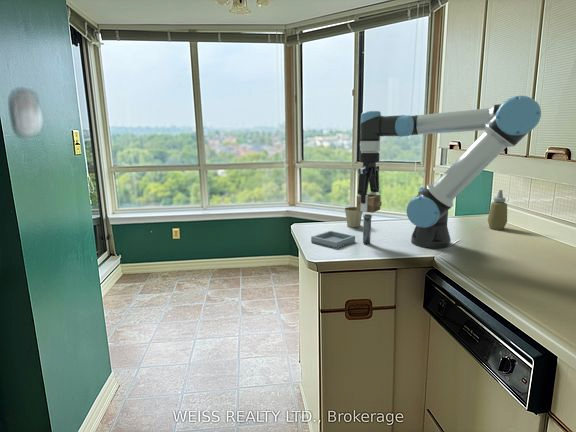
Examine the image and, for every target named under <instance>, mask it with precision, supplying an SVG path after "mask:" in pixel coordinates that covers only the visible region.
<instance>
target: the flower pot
mask: <svg viewBox="0 0 576 432" xmlns="http://www.w3.org/2000/svg"><path fill="white" fill-rule="evenodd" d="M343 210H344V212H345V218H346V225H347V227H349V228H360V227H361V221H362V218H363V213H364V212H362V211H357V206H348V207H344V208H343ZM359 226H360V227H359Z"/></svg>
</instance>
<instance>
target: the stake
mask: <svg viewBox="0 0 576 432" xmlns="http://www.w3.org/2000/svg"><path fill="white" fill-rule="evenodd" d="M372 217H373V215H372V214H369V213H368V214H367V213H365V214H362V218H363V222H362V223H363V225H362V226H363V229H362V230H363V231H362V244H363V243H364V244H363V245H366V244H369V245H371V238H372V237H371V235H372V234H371V232H372V231H371V230H372Z"/></svg>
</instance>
